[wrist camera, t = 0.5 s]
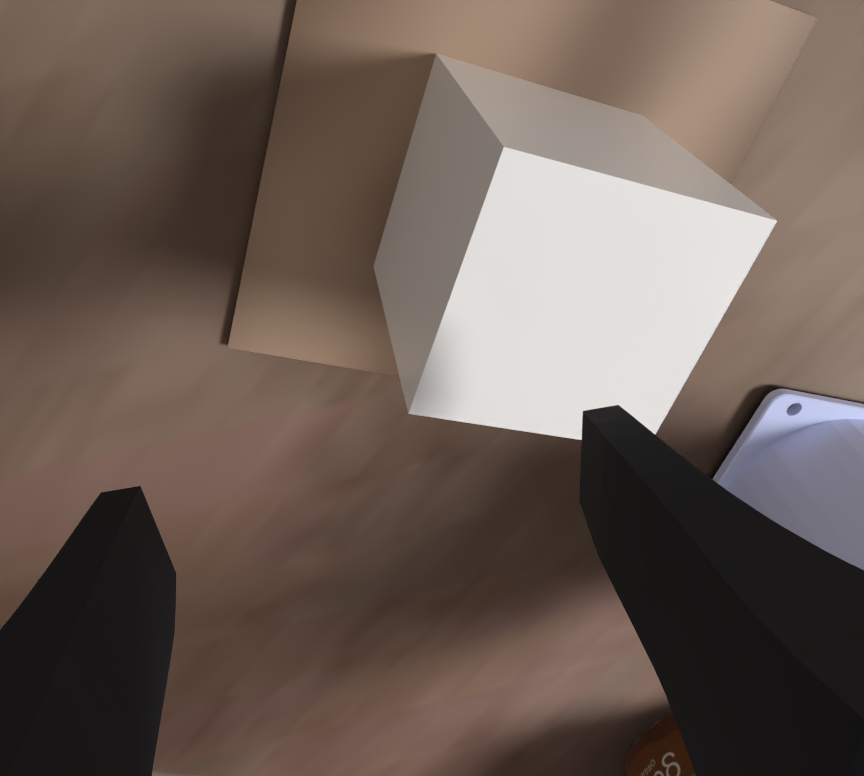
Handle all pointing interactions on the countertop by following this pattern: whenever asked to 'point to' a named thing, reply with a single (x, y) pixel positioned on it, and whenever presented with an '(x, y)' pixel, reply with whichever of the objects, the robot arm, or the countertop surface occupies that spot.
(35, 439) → the countertop surface
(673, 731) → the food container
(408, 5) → the board
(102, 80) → the countertop surface
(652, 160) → the matte white cube
